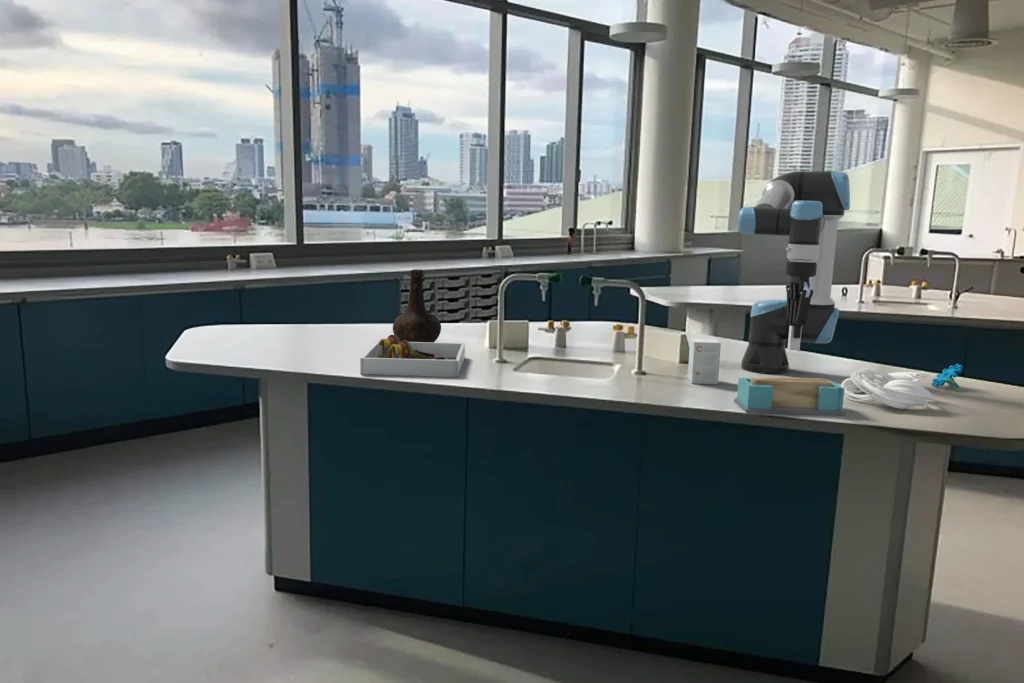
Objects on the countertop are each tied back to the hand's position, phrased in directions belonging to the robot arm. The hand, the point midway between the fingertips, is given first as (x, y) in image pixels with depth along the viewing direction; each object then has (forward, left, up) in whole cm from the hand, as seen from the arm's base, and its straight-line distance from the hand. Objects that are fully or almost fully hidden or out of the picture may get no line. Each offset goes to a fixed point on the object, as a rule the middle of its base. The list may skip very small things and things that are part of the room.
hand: (793, 349), depth 201 cm
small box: (-29, -16, -16) cm, 37 cm away
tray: (-42, -106, -16) cm, 115 cm away
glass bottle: (-77, -110, -16) cm, 135 cm away
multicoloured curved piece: (-42, -105, -17) cm, 114 cm away
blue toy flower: (-29, +59, -17) cm, 68 cm away
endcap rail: (0, 0, -16) cm, 16 cm away
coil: (-10, +31, -17) cm, 37 cm away
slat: (0, 0, -15) cm, 15 cm away
